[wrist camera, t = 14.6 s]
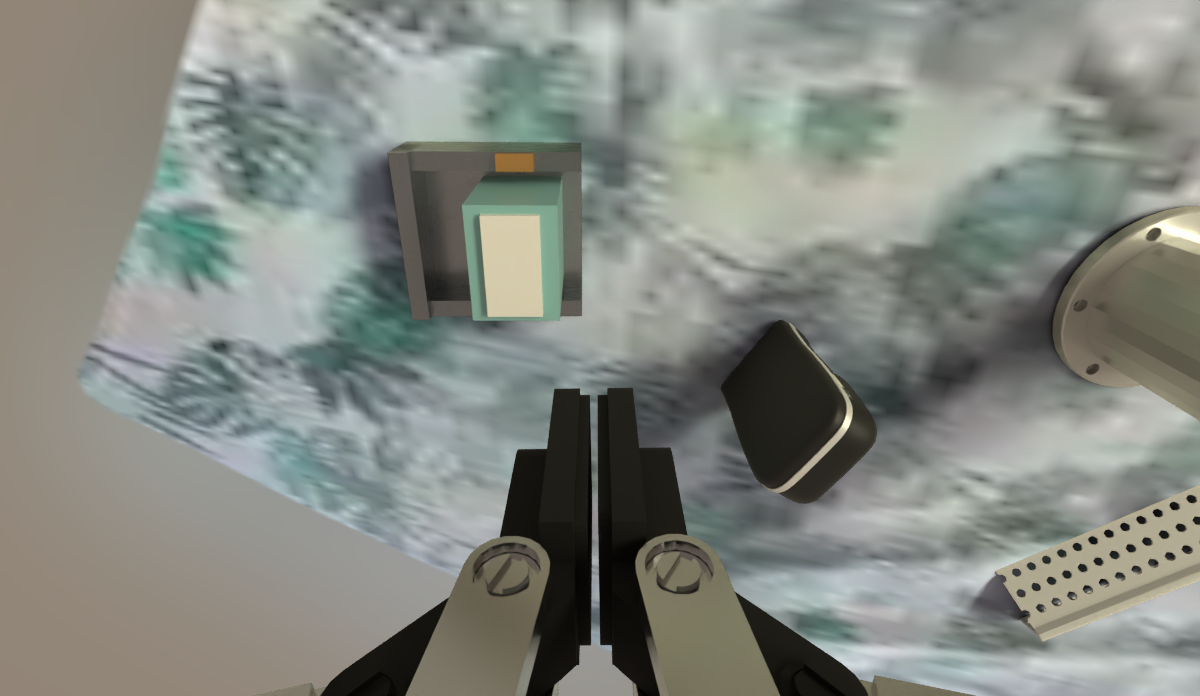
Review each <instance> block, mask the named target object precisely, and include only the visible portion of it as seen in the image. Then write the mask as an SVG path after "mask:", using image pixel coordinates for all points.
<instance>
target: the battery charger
mask: <svg viewBox="0 0 1200 696" xmlns="http://www.w3.org/2000/svg"><path fill="white" fill-rule="evenodd" d="M721 390H722V392H723V395H724V397H725V399H726V402H727V404H728V407H729V409H730V412H731V415H732V418H733V422H734V425H735V428H736V431H737V434H738V437H739V440H740V443H741V446H742V448H743V451H744V453H745V456H746V458H747V460H748V463H749V465H750V467H751V470H752V472H753V474H754V476H755V477H756V479H757V480H758V481H759V482H760V483H761V484H762V485H763V486H764V487H765V488H766V489H768V490H770V491H772V492H775V493H779V494H781V495H783V496H785V497H786V498H788V499H790V500H792V501H794V502H797V503H804V504H805V503H811V502H813V501H815V500H817V499H818V498H819V497H821V496H822V495H823V494H824V493H825V492H826V491H827V490H829V489H830V488H831V487H832V486H833V485H834V484H835V483H836V482H837V481H838V480H839V479H841V478H842V477H843V476H844V475H845V474H846V473H847V472H848V471H849V470H850V469H851V468H852V467H853V466H854V465H855V464H856V463H857V462H858V461H859V460H860V459H861V458H862V457H863V456H864V455H865V454H866V453H867V452H868V451H869V450H870V448H871V447H872V446H873V444H874V442H875V439H876V435H877V428H876V424H875V422H874V420H873V418H872V416H871V414H870V412H869V411H868V409H867V408H866V406H865V405H864V404H863V402H862V401H861V399H860V398H859V397H858V395H857V394H856V393H855V391H854V390H853V389H852V388H851V386H850V385H849V384H848V383H847V382H846V381H845V380H843V379H842V378H841V377H839V376H838V375H836V374H834V373H833V372H832V371H831V369H830V368H829V367H828V366H827V365H826V364H825V363H824V362H823V360H822V359H821V358H820V357H819V356H818V355H817V354H816V353H815V352H814V350H813V349H812V348H811V346H810V345H809V342H808V341H807V339H806V338H805V336H804V335H803V334H802V333H801V332H800V331H799V330H797V329H796V328H795V327H794V326H793V325H792V324H790V323H789V322H785V321H783V320H779V321H777V322H776V323H775V324H774V325H773V327H772V328H771V329H770V330H769V331H768V332H767V333H766V334H765V336H764V337H763V338H762V339H761V340H760V341H759V342H758V344H757V345H756V346H755V347H754V348H753V349H752V350H751V352H750V353H749V354H748V355H747V356H746V357H745V359H744V360H743V361H742V362H741V363H740V364H739V366H738V367H737V368H736V369H735V370H734V371H733V373H732V374H731V375H730V376H729V377H728V379H727V380H726V381H725V382H724V383H723V385H722V386H721Z"/></svg>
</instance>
